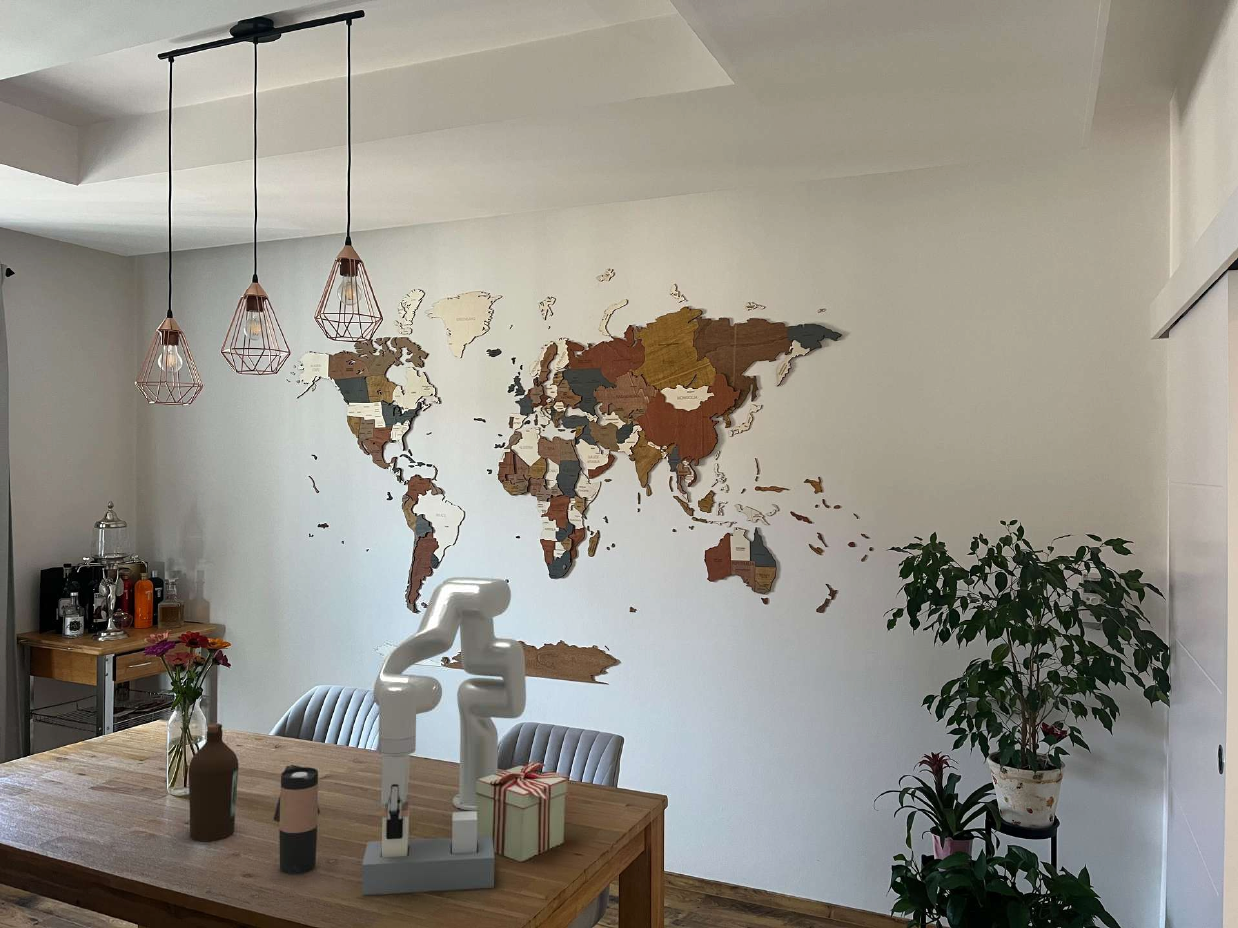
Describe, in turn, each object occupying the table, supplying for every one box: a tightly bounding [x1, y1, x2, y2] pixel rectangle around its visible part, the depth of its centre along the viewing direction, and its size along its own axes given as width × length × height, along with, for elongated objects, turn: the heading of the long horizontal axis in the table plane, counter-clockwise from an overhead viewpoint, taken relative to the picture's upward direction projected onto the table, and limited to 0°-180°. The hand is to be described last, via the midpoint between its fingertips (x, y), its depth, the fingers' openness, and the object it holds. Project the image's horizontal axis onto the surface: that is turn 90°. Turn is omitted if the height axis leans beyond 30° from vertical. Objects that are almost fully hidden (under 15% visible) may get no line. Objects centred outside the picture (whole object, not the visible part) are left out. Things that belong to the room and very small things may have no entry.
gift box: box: [476, 761, 571, 863], centre depth 213 cm, size 17×18×17 cm
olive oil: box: [187, 723, 240, 842], centre depth 217 cm, size 11×11×25 cm
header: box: [361, 810, 495, 896], centre depth 194 cm, size 26×12×13 cm, turn 100°
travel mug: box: [278, 766, 319, 875], centre depth 199 cm, size 8×8×20 cm
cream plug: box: [381, 801, 410, 857], centre depth 193 cm, size 5×5×12 cm
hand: (395, 831), depth 193 cm, fingers closed on cream plug, 5 cm apart
